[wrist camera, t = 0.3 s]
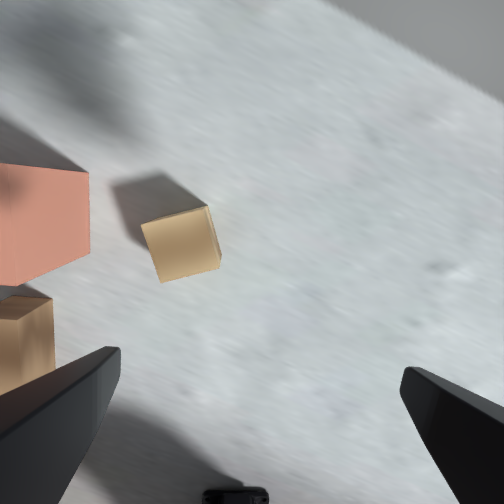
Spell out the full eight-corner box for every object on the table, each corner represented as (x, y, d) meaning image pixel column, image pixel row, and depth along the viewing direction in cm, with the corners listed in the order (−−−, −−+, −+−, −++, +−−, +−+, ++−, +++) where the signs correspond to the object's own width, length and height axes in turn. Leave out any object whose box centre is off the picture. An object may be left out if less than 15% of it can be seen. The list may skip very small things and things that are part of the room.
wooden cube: (221, 254, 22) (219, 268, 18) (173, 266, 22) (160, 283, 18) (207, 205, 21) (202, 209, 18) (157, 218, 21) (140, 224, 17)
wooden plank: (62, 476, 26) (32, 526, 22) (28, 475, 26) (-9, 526, 22) (54, 297, 22) (17, 320, 19) (14, 294, 22) (-32, 316, 18)
